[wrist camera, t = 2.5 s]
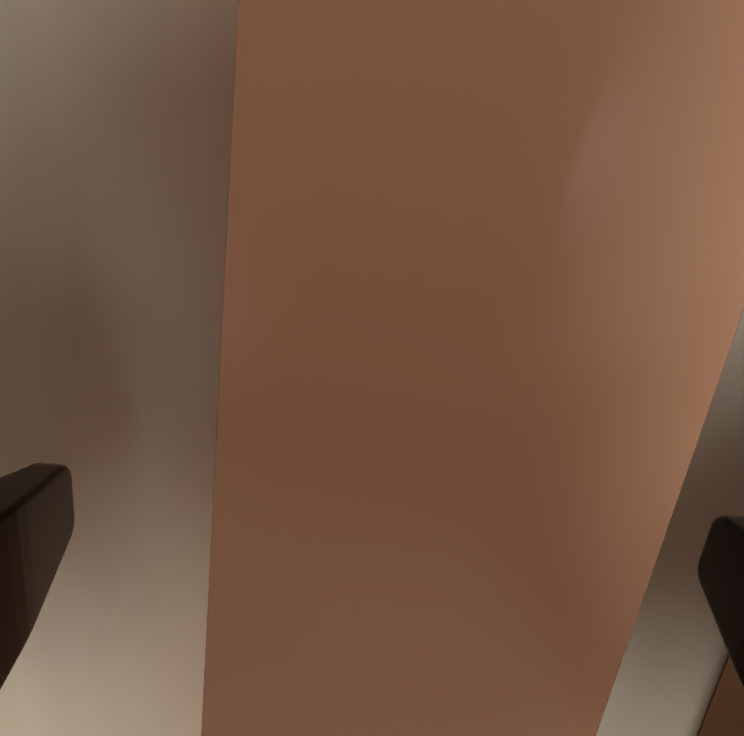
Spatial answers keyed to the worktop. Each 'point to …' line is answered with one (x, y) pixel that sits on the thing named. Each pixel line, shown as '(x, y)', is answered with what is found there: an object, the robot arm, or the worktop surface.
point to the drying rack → (726, 706)
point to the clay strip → (462, 352)
